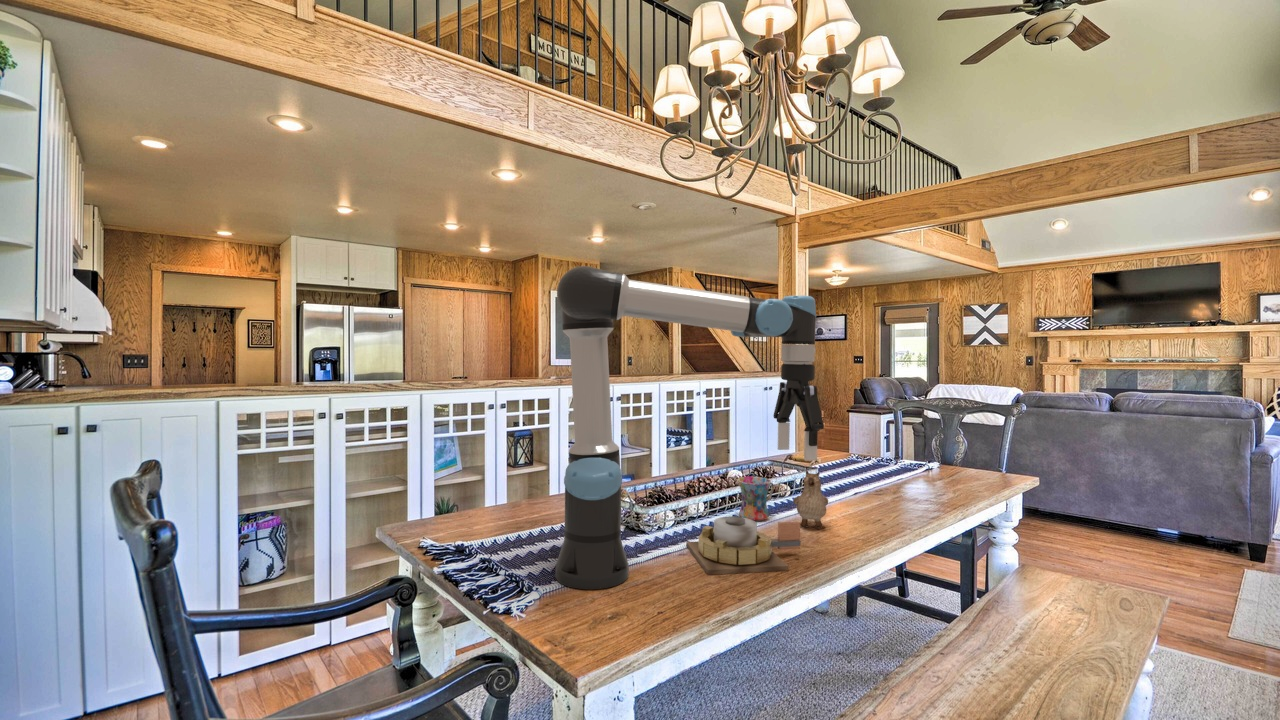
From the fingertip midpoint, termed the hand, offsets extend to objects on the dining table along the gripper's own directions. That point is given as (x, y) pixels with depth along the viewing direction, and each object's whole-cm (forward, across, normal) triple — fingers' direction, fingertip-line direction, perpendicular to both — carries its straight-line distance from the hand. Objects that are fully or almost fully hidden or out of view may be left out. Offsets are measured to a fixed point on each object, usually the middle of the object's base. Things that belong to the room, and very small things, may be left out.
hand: (796, 454), depth 139 cm
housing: (+23, 0, +15) cm, 27 cm away
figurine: (+23, +19, -14) cm, 33 cm away
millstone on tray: (+22, 0, +11) cm, 24 cm away
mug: (+23, +29, -3) cm, 37 cm away
